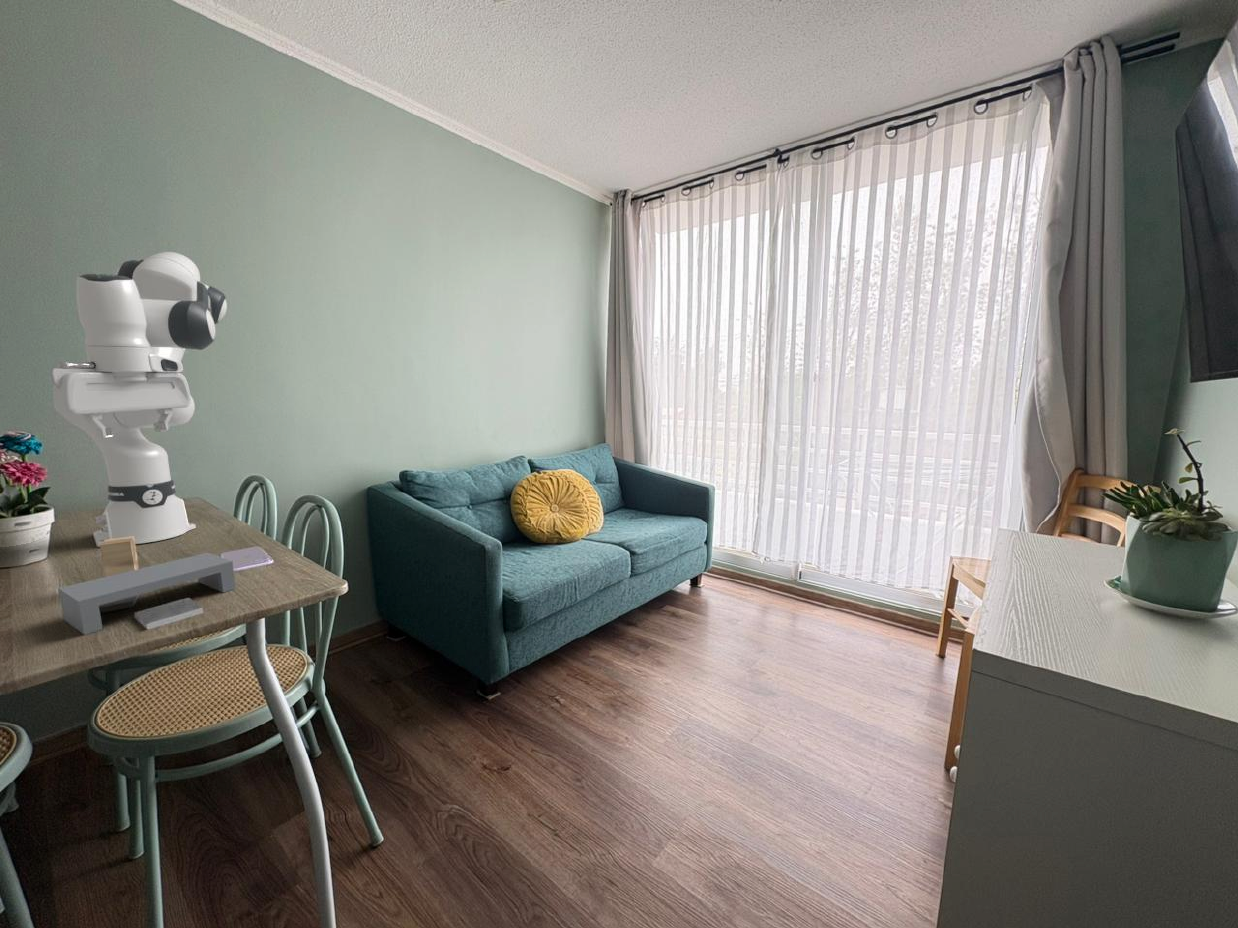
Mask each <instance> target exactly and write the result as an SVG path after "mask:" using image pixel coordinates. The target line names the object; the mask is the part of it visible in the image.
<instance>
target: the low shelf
mask: <svg viewBox="0 0 1238 928" xmlns="http://www.w3.org/2000/svg"><path fill="white" fill-rule="evenodd" d="M197 579H198V582H199V583H200V584H201V585H205V586H208V587H209V588H212V589H214V590H216V591H219V592H221V593H226V592H230V591H233V590H236V589H237V586H236V578H235V571H234V569H233V561H230V560H228V559H225V558H222V557H221V556H219V555H216V554H214V553H210V552H204V553H200V554H196V555H192V556H188V557H183V558H180V559H175V560H171V561H166V562H163V563H158V564H153V565H150V566H145V567H142V568H139V569H137V570H133V571H128V572H124V573H120V574H116V575H112V576H108V577H105V576H104V577H100V578H96V579H91V580H88V581H82V582H79V583H74V584H70V585H66V586H62V587H58V588H57V590H58V595H59V601H60V605H61V612H62V616H63V621H65V622H66V623H67V624H69V625H70V626H72V627H73V628H75V629H76V631H79V632H80V633H81V634H83V635H84V636H86V635H89V634H93V633H95V632H99V631H102V630H104V628H103V624H102V622H103V621H102V615H101V613H100V611H99V605H103V604H106V603H110V602H114V601H117V600H121V599H125V598H128V597H132V596H136V595H139V594H140V595H143V594H146V593H150V592H154V591H157V590H162V589H164V588H168V587H172V586H175V585H179V584H183V583H187V582H192V581H193V580H197ZM140 595H139V596H140Z"/></svg>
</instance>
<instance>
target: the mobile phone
mask: <svg viewBox="0 0 1238 928" xmlns="http://www.w3.org/2000/svg"><path fill="white" fill-rule="evenodd" d="M220 557H222V558H225V559H228V560H230V561H233V569H234V572H238V571H239V572H240V571H243V570H247V569H252V568H257V567H261V566H266V565H270V564H273V563H274V562H275V561H274V559H273V558H272V557H270V555H268V553H267V552H266V551H265V550H264V549H263V548H262V547H260V546H252V547H247V548H242V549H237V550H235V549H234V550H231V551H226V552H222V553H221V554H220Z"/></svg>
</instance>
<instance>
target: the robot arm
mask: <svg viewBox="0 0 1238 928" xmlns="http://www.w3.org/2000/svg"><path fill="white" fill-rule="evenodd" d="M115 271H116V272H115V273H114V274H106V273H105V274H102V273H101V274H98V273H86V274H82V275H79V276H78V277H77V279H76V286H75V287H76V289H75V290H76V295H75V296H76V306H77V313H78V314H77V315H78V318H79V322H80V324H81V326H82V328H83V329H84V334H85V338H84V342H83V344H84V349H85V354H86V359H87V361H82V362H81V361H80V362H71V361H62V362H59V363H58V364H55V365H54V366H52V367H51V368H50V370H49V376H50V381H51V383H52V385H53V386H52V396H53V397H52V399H53V406H54V409H55V411H56V412H58V413H60V415H62V417H63V418H64V419H65V420H66V421H68V422H69V423H70V424H73V425H74V426H76V427H77V428H79V429H81V430H82V431H84V432H85V433H86V434H87V435H88V436H89V437H90V438H91V439H92V440H93V441H94V443H95V444H96V445H97V446H98V448H99V450H100V452H101V454H102V456H103V458H104V463H105V466H106V472H107V477H108V482H109V485H108V486H107V492H106V493H107V499H108V500H109V502H108V504H107V506H106V507H105V509H104V511H103V513H102V514H100V515H99V516H95V517H94V522H95V526H96V527H99V526H101V529H100V530H96V531H94V532H93V539H94V541H95V544H96V547H98V548H100V545H101V543H102V542H103V541H104V540H108V539H116V538H124V537H131V536H134V540H135V545H140V544H146V543H151V542H152V543H153V542H158V541H159V542H160V541H163V540H167V539H172V538H176V537H178V536H181V535H184V534H186V533H187V532H188V531H191V530H194V529H196V528H197V527H196V524H195V523H189V520H188V514H187V511H186V507H185V502H184V500H183V499H181V498H180V497H178V496H177V495H175V494H176V485H175V482H174V480H173V479H172V477H171V471H170V462H169V455H168V453H167V450H165V449H164V447H162V446H161V445H159V444H157V443H155V442H151V441H149V440H148V439H147V438H146V437H145V436H144V435H143V434H142V432H141V430H140V429H143V428H144V429H148V428H149V429H150V428H152V429H154V432H161V433H162V432H169V431H170V430H169V429H170V427H174V426H175V427H176V426H179V425H184V424H187V423H188V422H190V420H191V419H192V418H193V416H194V414H195V410H196V404H195V401H194V398H193V397H192V395H191V391H190V387H189V383H188V381H187V378H186V376H185V375H184V374H182V372H184V371H183V370H184V366H183V364H182V361H183V358H184V355H185V352H186V349H188V350H200V351H202V350H205V349H206V348H208V347H209V346H211V344H213V342H215V337H216V324H218V323H219V322H220V321H221V320H222V319H224V317H225V315H226V314H227V311H228V302H227V297H226V295H225V294H224V292H222V291H221V290H219V289H218V288H216V287H214V286H212V285H210V286H208V285H207V284H205V283H203V282H201V274H200V273H201V272H200V270H199V268H198V266H197V265H196V263H195V262H194V261H193V260H191V259H190V258H189V257H187V256H185V255H184V254H181V253H178V252H173V251H163V252H159V253H155V254H153V255H151V256H149V257H147V258H145V259H140V260H135V259H131V260H128V261H127V260H126V261H124V262H123V263H122V264H121V265H119V267H118V268H117V269H116V270H115Z"/></svg>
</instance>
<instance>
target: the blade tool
mask: <svg viewBox="0 0 1238 928" xmlns="http://www.w3.org/2000/svg"><path fill="white" fill-rule="evenodd" d="M99 548H100V553H101V559H102V560H101V561H102V565H103V566H102V567H103V572H104V577H108V576H112V575H116V574H120V573H124V572H128V571H133V570H137V569H140V567H139V566H140V565H139V560H138V553H137V547H136V544H135V540H134V536H131V537H124V538H116V539H108V540H104V541H103V542H102V543H101V545H100V547H99ZM140 595H141V594H139V595H136V596H132V597H128V598H125V599H121V600H117V601H114V602H110V603H106V604H103V605H99V611H100V614H102V613H108V612H112V611H118V610H123V609H127V608H133V607H135V604H136V602H137V600H138V598H139V597H140Z"/></svg>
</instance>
